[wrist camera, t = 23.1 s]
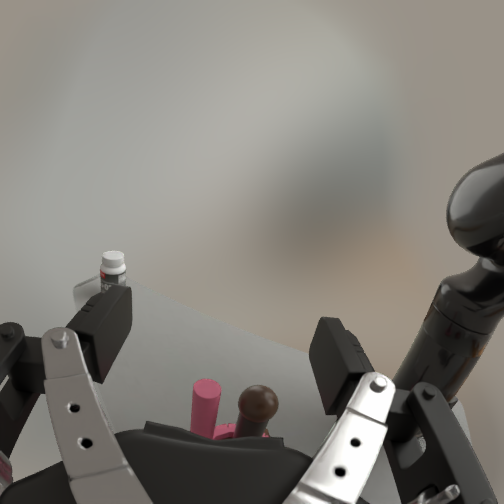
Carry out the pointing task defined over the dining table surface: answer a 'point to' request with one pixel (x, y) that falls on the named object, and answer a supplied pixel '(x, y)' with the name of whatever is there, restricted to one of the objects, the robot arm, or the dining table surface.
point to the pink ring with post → (208, 411)
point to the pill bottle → (112, 270)
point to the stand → (255, 411)
